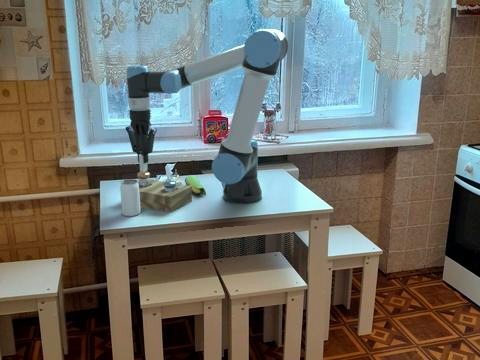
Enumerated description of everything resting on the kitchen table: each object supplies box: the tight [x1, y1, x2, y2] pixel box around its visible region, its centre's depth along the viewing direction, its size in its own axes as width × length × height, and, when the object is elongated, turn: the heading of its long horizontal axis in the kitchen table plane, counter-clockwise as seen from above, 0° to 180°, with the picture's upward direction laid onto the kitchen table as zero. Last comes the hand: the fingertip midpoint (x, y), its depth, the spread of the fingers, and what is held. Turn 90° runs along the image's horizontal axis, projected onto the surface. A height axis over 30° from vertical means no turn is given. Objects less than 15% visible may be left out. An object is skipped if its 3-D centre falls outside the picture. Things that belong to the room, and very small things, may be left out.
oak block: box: [137, 178, 193, 213], centre depth 192 cm, size 22×14×6 cm, turn 62°
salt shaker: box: [163, 180, 177, 192], centre depth 189 cm, size 5×5×8 cm
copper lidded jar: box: [136, 171, 151, 188], centre depth 194 cm, size 5×5×8 cm
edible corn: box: [184, 174, 207, 197], centre depth 206 cm, size 5×20×5 cm
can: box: [119, 178, 141, 217], centre depth 180 cm, size 6×6×12 cm
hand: (143, 170), depth 193 cm, fingers closed
